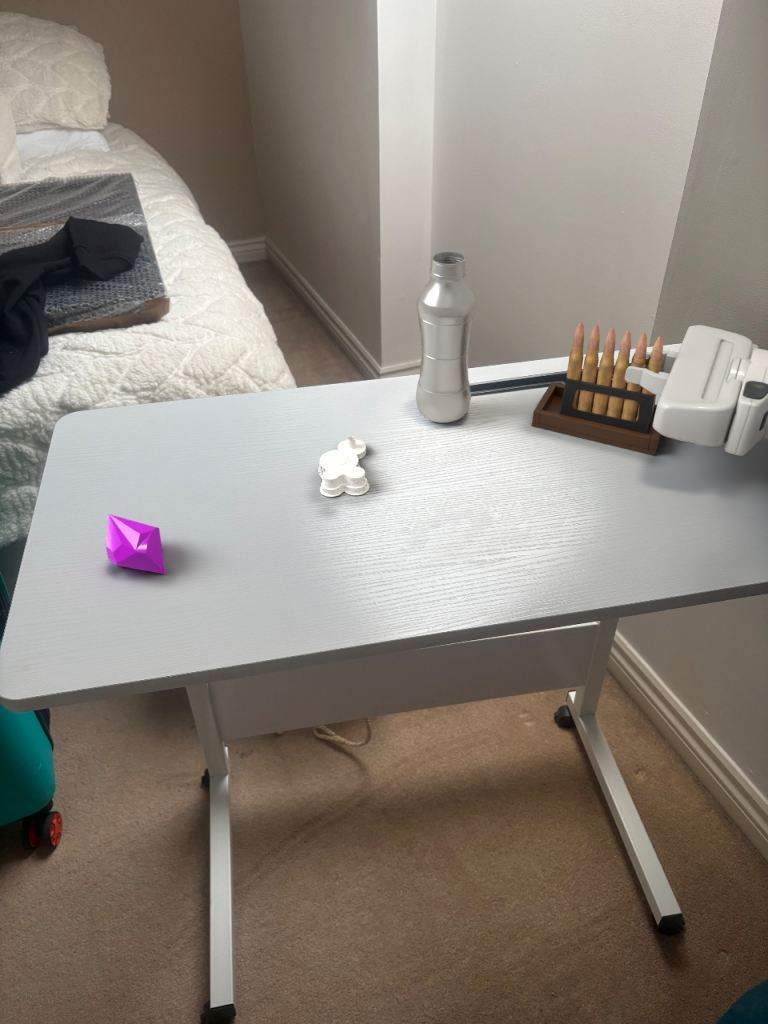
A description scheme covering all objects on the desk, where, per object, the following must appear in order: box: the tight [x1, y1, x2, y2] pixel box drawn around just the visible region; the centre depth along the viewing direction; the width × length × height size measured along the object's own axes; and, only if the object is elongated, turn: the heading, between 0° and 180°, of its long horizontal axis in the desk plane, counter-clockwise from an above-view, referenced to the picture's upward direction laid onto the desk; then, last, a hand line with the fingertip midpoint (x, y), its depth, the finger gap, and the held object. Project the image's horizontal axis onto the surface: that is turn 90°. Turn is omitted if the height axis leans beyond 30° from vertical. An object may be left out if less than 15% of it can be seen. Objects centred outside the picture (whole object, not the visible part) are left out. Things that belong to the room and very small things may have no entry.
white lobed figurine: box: [317, 435, 370, 509], centre depth 92 cm, size 9×9×2 cm
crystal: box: [105, 513, 166, 575], centre depth 81 cm, size 5×5×5 cm
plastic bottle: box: [415, 251, 477, 424], centre depth 96 cm, size 6×7×20 cm
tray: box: [531, 381, 663, 456], centre depth 99 cm, size 15×8×2 cm, turn 65°
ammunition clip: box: [559, 321, 664, 434], centre depth 96 cm, size 11×2×12 cm, turn 65°
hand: (629, 365), depth 94 cm, fingers closed on ammunition clip, 2 cm apart
